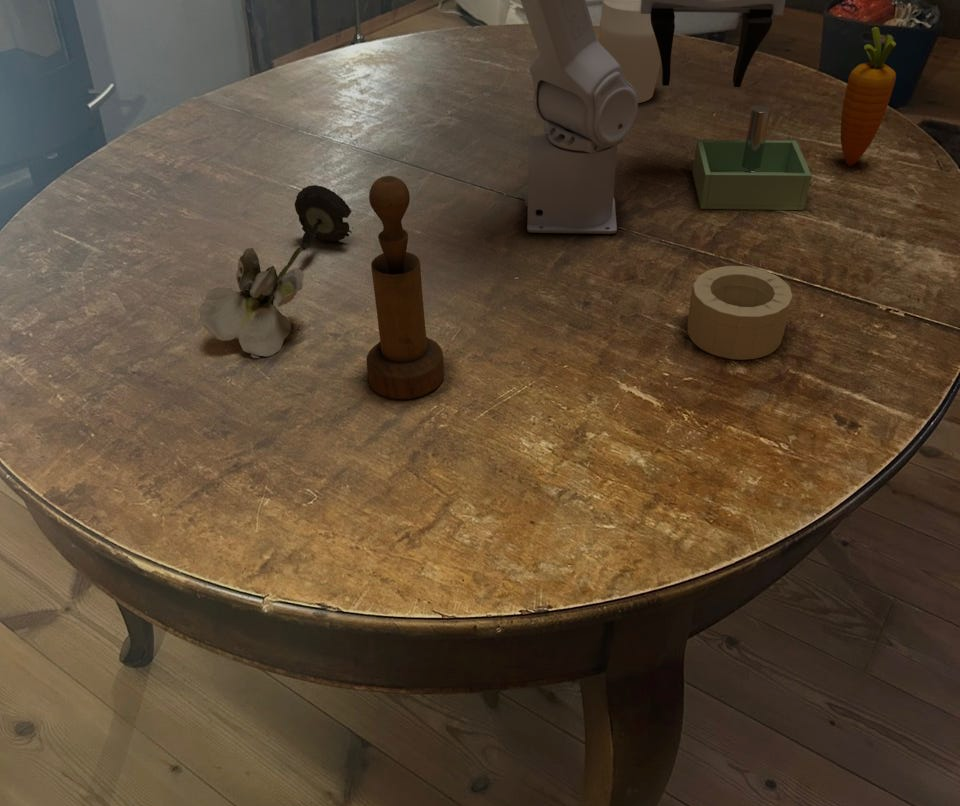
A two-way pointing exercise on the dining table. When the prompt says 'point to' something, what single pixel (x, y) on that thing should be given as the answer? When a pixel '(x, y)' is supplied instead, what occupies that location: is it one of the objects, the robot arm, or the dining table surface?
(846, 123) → the carrot
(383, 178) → the mortar and pestle
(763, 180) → the bin
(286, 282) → the artificial flower
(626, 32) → the cup
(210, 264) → the dining table surface
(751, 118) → the metallic cylinder
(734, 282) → the beige round bowl
